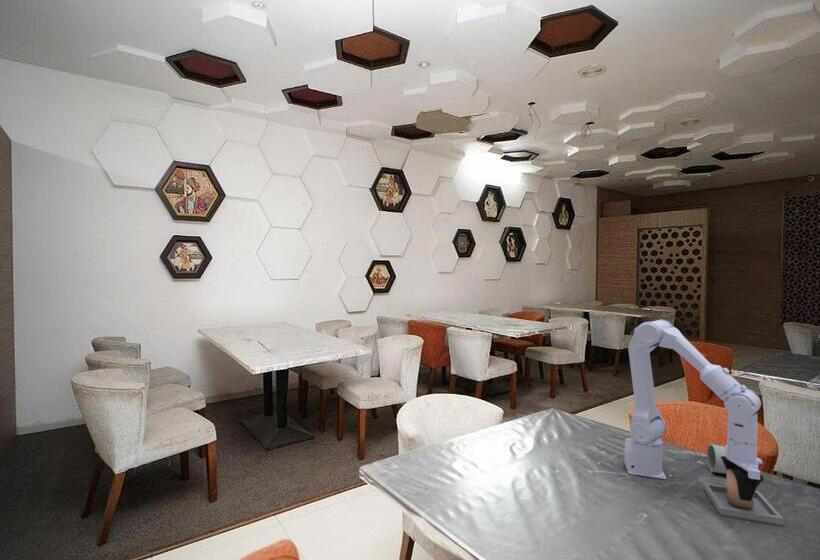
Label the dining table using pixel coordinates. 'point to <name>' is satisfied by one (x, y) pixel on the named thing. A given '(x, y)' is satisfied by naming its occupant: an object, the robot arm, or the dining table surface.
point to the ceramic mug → (716, 458)
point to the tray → (757, 513)
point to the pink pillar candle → (736, 492)
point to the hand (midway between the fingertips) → (740, 493)
